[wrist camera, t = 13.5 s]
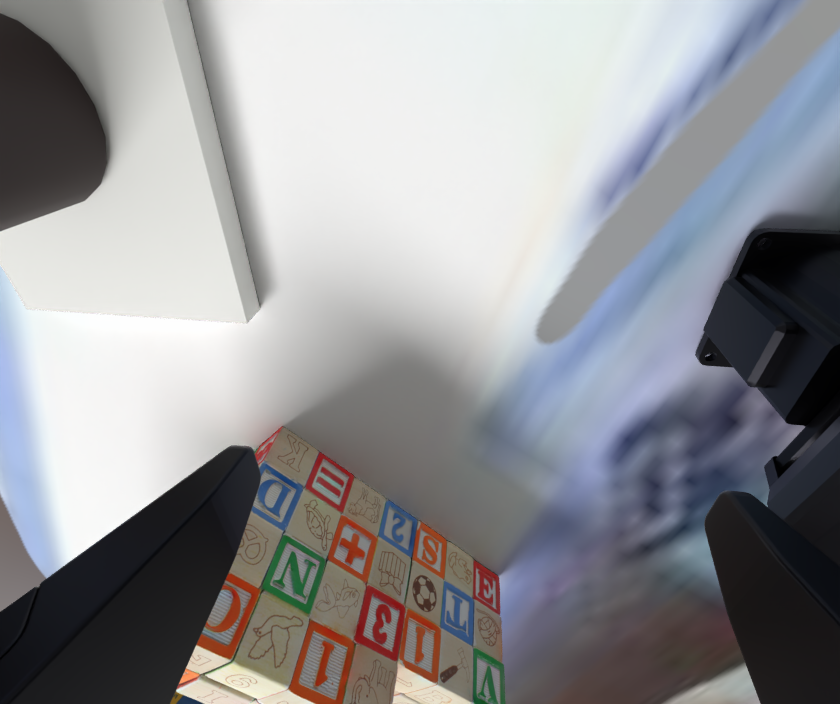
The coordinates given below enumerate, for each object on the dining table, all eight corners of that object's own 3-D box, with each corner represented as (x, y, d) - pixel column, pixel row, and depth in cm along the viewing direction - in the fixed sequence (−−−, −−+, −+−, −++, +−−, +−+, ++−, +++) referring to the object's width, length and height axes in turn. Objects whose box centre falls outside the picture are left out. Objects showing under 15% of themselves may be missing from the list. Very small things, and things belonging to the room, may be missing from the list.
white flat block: (151, -146, 13) (117, -168, 12) (260, 309, 22) (246, 324, 21) (-181, -131, 14) (-246, -150, 13) (50, 296, 23) (25, 309, 22)
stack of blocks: (502, 574, 34) (511, 790, 24) (446, 596, 37) (432, 797, 27) (281, 422, 27) (163, 637, 17) (234, 464, 30) (110, 668, 20)
